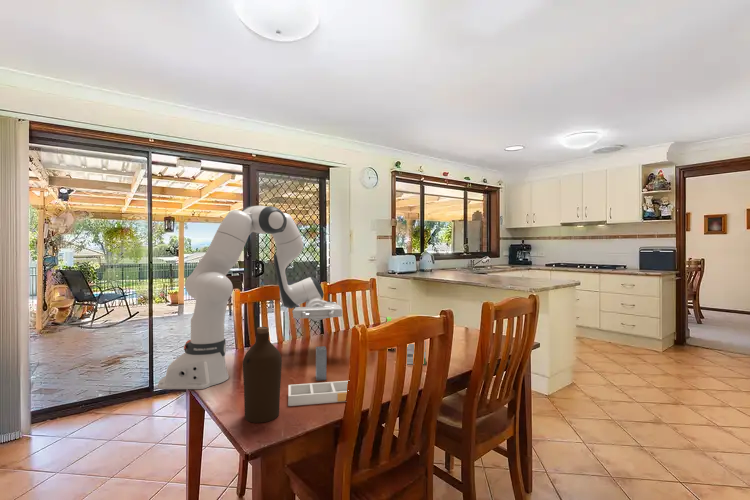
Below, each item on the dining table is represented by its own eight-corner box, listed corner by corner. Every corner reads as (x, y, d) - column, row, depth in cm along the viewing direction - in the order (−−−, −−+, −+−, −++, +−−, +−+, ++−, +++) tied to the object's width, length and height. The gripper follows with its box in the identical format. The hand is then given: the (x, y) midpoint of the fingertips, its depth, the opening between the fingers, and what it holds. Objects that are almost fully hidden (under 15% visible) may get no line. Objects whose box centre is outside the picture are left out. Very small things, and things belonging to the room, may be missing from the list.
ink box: (424, 361, 160) (424, 333, 160) (425, 364, 155) (425, 336, 155) (404, 360, 160) (404, 333, 160) (405, 364, 156) (405, 335, 156)
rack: (288, 406, 113) (288, 396, 113) (288, 394, 123) (288, 384, 123) (357, 400, 118) (357, 391, 118) (352, 389, 128) (352, 380, 128)
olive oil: (275, 424, 102) (275, 332, 101) (236, 423, 102) (236, 331, 102) (285, 408, 112) (286, 324, 112) (250, 407, 113) (251, 323, 112)
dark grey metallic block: (316, 380, 136) (316, 350, 135) (315, 376, 140) (315, 346, 140) (326, 380, 136) (326, 349, 136) (325, 375, 141) (325, 346, 141)
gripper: (292, 303, 161) (292, 308, 148) (339, 301, 166) (344, 306, 152) (292, 318, 161) (292, 324, 148) (339, 316, 166) (344, 322, 152)
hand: (319, 315), depth 150 cm, fingers open, 8 cm apart
